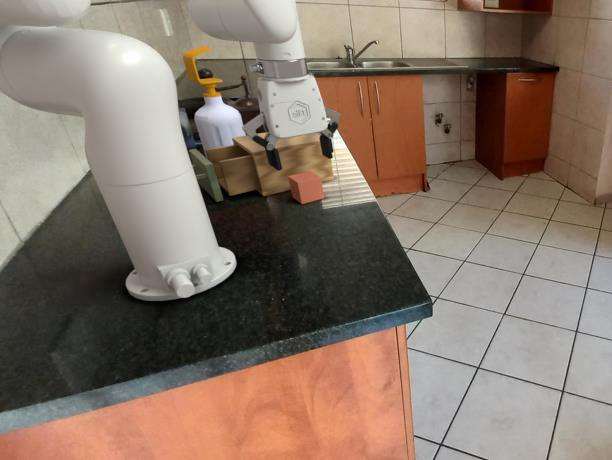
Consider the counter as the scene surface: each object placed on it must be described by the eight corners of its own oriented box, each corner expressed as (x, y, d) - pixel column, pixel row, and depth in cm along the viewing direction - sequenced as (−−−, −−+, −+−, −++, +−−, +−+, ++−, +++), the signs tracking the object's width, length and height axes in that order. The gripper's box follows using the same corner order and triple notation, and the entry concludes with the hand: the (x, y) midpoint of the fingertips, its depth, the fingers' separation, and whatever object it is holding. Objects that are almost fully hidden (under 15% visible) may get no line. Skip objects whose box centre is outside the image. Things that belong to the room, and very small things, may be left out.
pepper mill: (277, 131, 123) (263, 65, 114) (281, 142, 115) (266, 71, 106) (214, 136, 116) (194, 66, 107) (213, 148, 108) (191, 73, 99)
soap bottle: (258, 155, 104) (231, 48, 93) (219, 165, 98) (185, 50, 86) (238, 148, 108) (210, 44, 97) (199, 157, 102) (164, 46, 90)
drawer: (183, 209, 76) (169, 171, 72) (168, 191, 82) (155, 155, 79) (290, 184, 88) (283, 150, 84) (270, 170, 94) (263, 137, 91)
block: (324, 198, 85) (321, 177, 83) (301, 204, 82) (297, 182, 80) (314, 191, 88) (310, 170, 86) (292, 197, 85) (287, 176, 83)
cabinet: (263, 196, 84) (252, 152, 80) (242, 179, 91) (231, 137, 87) (334, 179, 94) (327, 139, 90) (310, 164, 101) (303, 126, 97)
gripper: (236, 77, 66) (263, 179, 74) (341, 68, 77) (354, 157, 85) (220, 70, 70) (247, 167, 79) (322, 62, 81) (337, 148, 90)
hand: (303, 162), depth 82 cm, fingers open, 9 cm apart
